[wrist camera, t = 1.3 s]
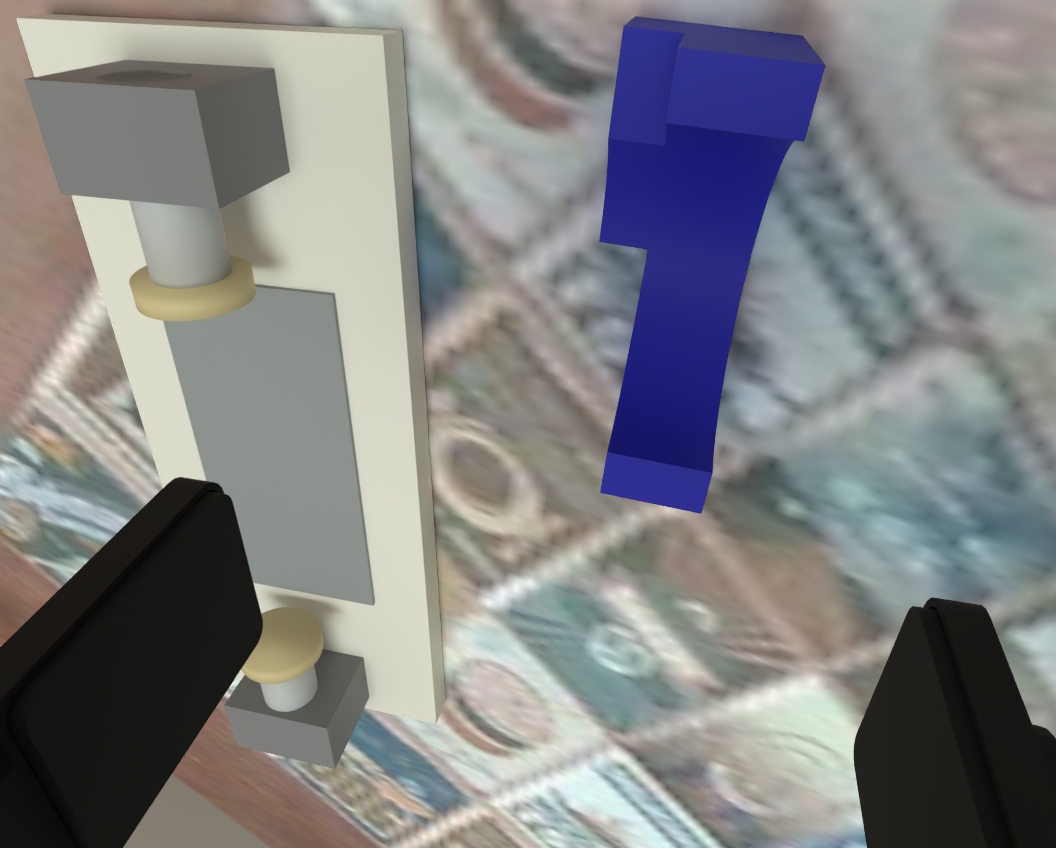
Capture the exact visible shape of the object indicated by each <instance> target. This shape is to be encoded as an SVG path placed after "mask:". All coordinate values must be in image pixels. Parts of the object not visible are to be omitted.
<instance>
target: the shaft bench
mask: <svg viewBox="0 0 1056 848" xmlns="http://www.w3.org/2000/svg"><path fill="white" fill-rule="evenodd" d="M16 19H17V22H18V25H19V28H20V32H21V35H22V38H23V41H24V44H25V48H26V51H27V54H28V57H29V60H30V64H31V67H32V70H33V73H34V76H35V77H34V78H29V79H24V80H25V83H26V86H27V89H28V92H29V96H30V99H31V102H32V105H33V108H34V111H35V114H36V118H37V121H38V124H39V127H40V130H41V133H42V136H43V139H44V143H45V146H46V149H47V152H48V155H49V158H50V161H51V165H52V168H53V171H54V174H55V177H56V180H57V183H58V186H59V190H60V193H61V194H65V195H72V198H73V201H74V205H75V208H76V211H77V214H78V217H79V221H80V224H81V227H82V230H83V234H84V237H85V240H86V243H87V246H88V250H89V253H90V256H91V259H92V262H93V266H94V269H95V272H96V275H97V278H98V282H99V285H100V288H101V291H102V294H103V298H104V301H105V304H106V307H107V310H108V314H109V317H110V320H111V323H112V326H113V330H114V333H115V336H116V339H117V343H118V346H119V349H120V352H121V355H122V359H123V362H124V365H125V368H126V371H127V375H128V378H129V381H130V384H131V387H132V391H133V394H134V397H135V400H136V403H137V407H138V410H139V413H140V416H141V419H142V423H143V426H144V429H145V432H146V435H147V439H148V442H149V445H150V448H151V452H152V455H153V458H154V461H155V464H156V468H157V471H158V474H159V477H160V480H161V484H162V487H163V488H164V487H165V486H166V485H167V484H168V483H169V482H170V481H172V480H173V479H174V478H178V477H184V478H190V479H197V480H203V481H209V482H214V483H218V484H219V485H220V486H221V487H222V489H223V491H224V494H226V495H229V496H230V497H231V499H232V502H233V505H234V509H235V513H236V517H237V521H238V525H239V528H240V532H241V536H242V540H243V544H244V548H245V552H246V556H247V560H248V564H249V568H250V571H251V575H252V579H253V583H254V587H255V591H256V595H257V599H258V603H259V607H260V611H261V615H262V618H263V630H262V634H261V637H260V640H259V642H258V644H257V646H256V647H255V649H254V650H253V652H252V653H251V655H250V657H249V658H248V660H247V661H246V663H245V664H244V666H243V667H242V669H241V670H240V672H239V673H238V675H237V676H236V678H235V679H234V680H238V681H240V683H239V684H238V686H237V687H236V689H235V690H234V692H233V693H232V695H231V696H230V698H229V699H228V701H227V702H226V704H225V705H224V706H225V709H226V712H227V716H228V719H229V722H230V725H231V728H232V731H233V734H234V738H235V741H236V744H237V746H241V747H245V748H250V749H254V750H258V751H262V752H267V753H271V754H275V755H279V756H284V757H288V758H292V759H296V760H301V761H305V762H309V763H313V764H318V765H322V766H326V767H330V768H336V766H337V764H338V761H339V759H340V757H341V755H342V753H343V751H344V749H345V747H346V745H347V743H348V741H349V739H350V736H351V734H352V732H353V730H354V728H355V726H356V724H357V722H358V720H359V718H360V716H361V714H362V711H363V709H364V708H367V709H371V710H376V711H380V712H385V713H390V714H394V715H399V716H403V717H408V718H412V719H417V720H422V721H426V722H431V723H435V724H436V723H437V720H438V718H439V715H440V712H441V710H442V707H443V705H444V702H445V699H446V698H445V682H444V667H443V652H442V636H441V621H440V605H439V590H438V574H437V559H436V543H435V528H434V512H433V497H432V482H431V466H430V451H429V435H428V420H427V404H426V389H425V373H424V358H423V342H422V327H421V312H420V296H419V281H418V265H417V250H416V234H415V219H414V203H413V188H412V172H411V157H410V142H409V126H408V111H407V95H406V80H405V64H404V49H403V33H402V30H383V29H361V28H340V27H318V26H297V25H275V24H254V23H232V22H211V21H189V20H168V19H146V18H125V17H103V16H82V15H60V14H49V15H40V16H31V17H21V18H16Z"/></svg>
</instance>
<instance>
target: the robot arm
mask: <svg viewBox="0 0 1056 848" xmlns="http://www.w3.org/2000/svg"><path fill="white" fill-rule="evenodd" d="M262 630H263V618H262V615H261V611H260V607H259V603H258V599H257V595H256V591H255V587H254V583H253V579H252V575H251V571H250V568H249V564H248V560H247V556H246V552H245V548H244V544H243V540H242V536H241V532H240V528H239V525H238V521H237V517H236V513H235V509H234V505H233V502H232V499H231V497H230V496H229V495H226V494H224V491H223V489H222V487H221V486H220V485H219V484H218V483H214V482H209V481H203V480H197V479H190V478H184V477H178V478H174V479H173V480H172V481H170V482H169V483H168V484H167V485H166V486H165V487H164V488H163V489H162V490H161V491H160V492H159V493H158V494H157V495H156V496H155V497H154V498H153V499H152V500H150V501H149V502H148V503H147V504H146V505H145V506H144V507H143V508H142V509H141V510H140V511H139V512H138V513H137V514H136V515H135V516H134V517H133V518H132V519H131V520H130V521H129V522H128V523H127V524H126V525H125V526H124V527H123V528H122V529H121V530H120V531H119V532H118V533H117V534H116V535H115V536H114V537H113V538H112V539H111V540H110V541H109V542H108V543H107V544H106V545H104V546H103V547H102V548H101V549H100V550H99V551H98V552H97V553H96V554H95V555H94V556H93V557H92V558H91V559H90V560H89V561H88V562H87V563H86V564H85V565H84V566H83V567H82V568H81V569H80V570H79V571H78V572H77V573H76V574H75V575H74V576H73V577H72V578H71V579H70V580H69V581H68V582H67V583H66V584H65V585H64V586H63V587H62V588H61V589H60V590H58V591H57V592H56V593H55V594H54V595H53V596H52V597H51V598H50V599H49V600H48V601H47V602H46V603H45V604H44V605H43V606H42V607H41V608H40V609H39V610H38V611H37V612H36V613H35V614H34V615H33V616H32V617H31V618H30V619H29V620H28V621H27V622H26V623H25V624H24V625H23V626H22V627H21V628H20V629H19V630H18V631H17V632H16V633H15V634H14V635H12V636H11V637H10V638H9V639H8V640H7V641H6V642H5V643H4V644H3V645H2V646H1V647H0V848H123V847H124V845H125V844H126V842H127V840H128V839H129V838H130V836H131V835H132V833H133V832H134V830H135V829H136V827H137V826H138V824H139V823H140V821H141V819H142V818H143V816H144V815H145V813H146V812H147V810H148V809H149V807H150V806H151V804H152V803H153V801H154V800H155V798H156V797H157V795H158V794H159V792H160V791H161V789H162V788H163V786H164V785H165V783H166V782H167V780H168V779H169V777H170V776H171V774H172V773H173V771H174V770H175V768H176V767H177V765H178V764H179V762H180V761H181V759H182V758H183V756H184V755H185V753H186V752H187V750H188V749H189V747H190V746H191V744H192V743H193V741H194V740H195V738H196V736H197V735H198V733H199V732H200V730H201V729H202V727H203V726H204V724H205V723H206V721H207V720H208V718H209V717H210V715H211V714H212V712H213V711H214V709H215V708H216V706H217V705H218V703H219V702H220V700H221V699H222V697H223V696H224V694H225V693H226V691H227V690H228V688H229V687H230V685H231V684H232V682H233V681H234V679H235V678H236V676H237V675H238V673H239V672H240V670H241V669H242V667H243V666H244V664H245V663H246V661H247V660H248V658H249V657H250V655H251V653H252V652H253V650H254V649H255V647H256V646H257V644H258V642H259V640H260V637H261V634H262ZM854 766H855V773H856V779H857V786H858V792H859V798H860V805H861V811H862V818H863V824H864V831H865V837H866V843H867V848H1056V739H1055V737H1054V736H1053V735H1052V734H1051V733H1050V732H1049V731H1048V730H1047V729H1046V728H1043V727H1040V726H1037V725H1032V723H1031V721H1030V718H1029V716H1028V713H1027V710H1026V708H1025V705H1024V703H1023V700H1022V698H1021V695H1020V692H1019V690H1018V687H1017V685H1016V682H1015V680H1014V677H1013V675H1012V672H1011V669H1010V667H1009V664H1008V662H1007V659H1006V657H1005V654H1004V651H1003V649H1002V646H1001V644H1000V641H999V639H998V636H997V633H996V631H995V628H994V626H993V623H992V621H991V618H990V616H989V614H988V612H987V610H986V609H985V608H984V607H983V606H982V605H976V604H970V603H964V602H958V601H951V600H945V599H939V598H930V599H929V600H928V601H927V602H926V604H925V605H924V607H923V608H921V607H914V606H912V607H911V608H910V609H909V611H908V613H907V615H906V617H905V620H904V622H903V625H902V627H901V629H900V632H899V634H898V637H897V639H896V641H895V644H894V646H893V648H892V651H891V653H890V656H889V658H888V660H887V663H886V665H885V667H884V670H883V672H882V675H881V677H880V679H879V682H878V684H877V687H876V689H875V691H874V694H873V696H872V698H871V701H870V703H869V706H868V708H867V710H866V713H865V715H864V718H863V720H862V722H861V725H860V727H859V729H858V732H857V735H856V738H855V743H854Z"/></svg>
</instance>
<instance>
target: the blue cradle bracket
mask: <svg viewBox="0 0 1056 848" xmlns="http://www.w3.org/2000/svg"><path fill="white" fill-rule="evenodd" d="M824 68H825V64H824V63H823V62H822V60H821V59H820V58H819V56H818V55H817V54H816V53H815V51H814V50H813V49H812V47H811V46H810V45H809V44H808V42H807V41H806V40H805V38H804V37H803V36H799V35H790V34H782V33H773V32H764V31H756V30H747V29H738V28H730V27H721V26H713V25H704V24H695V23H687V22H678V21H669V20H661V19H652V18H643V17H635V18H633V19H632V20H631V21H629V22H628V23H627V24H626V25H624V28H623V36H622V43H621V50H620V58H619V65H618V72H617V80H616V87H615V94H614V102H613V109H612V116H611V124H610V131H609V138H608V140H609V141H608V167H607V180H606V191H605V201H604V210H603V218H602V226H601V234H600V241H599V242H604V243H611V244H617V245H623V246H630V247H636V248H642V249H648V253H647V259H646V264H645V270H644V275H643V280H642V286H641V291H640V297H639V302H638V307H637V312H636V318H635V323H634V328H633V333H632V338H631V343H630V348H629V353H628V358H627V363H626V368H625V373H624V378H623V383H622V388H621V393H620V397H619V402H618V407H617V411H616V416H615V421H614V425H613V430H612V434H611V439H610V443H609V447H608V452H607V457H606V463H605V468H604V474H603V480H602V486H601V491H600V493H604V494H609V495H613V496H618V497H623V498H628V499H633V500H638V501H643V502H647V503H652V504H657V505H662V506H667V507H672V508H677V509H681V510H686V511H691V512H696V513H702V509H703V505H704V502H705V498H706V495H707V491H708V487H709V484H710V480H711V477H712V473H713V456H714V445H715V435H716V427H717V419H718V412H719V405H720V399H721V393H722V386H723V381H724V375H725V369H726V364H727V359H728V353H729V348H730V343H731V338H732V334H733V329H734V324H735V319H736V315H737V311H738V306H739V302H740V297H741V293H742V289H743V285H744V281H745V277H746V273H747V269H748V265H749V261H750V257H751V254H752V250H753V246H754V243H755V239H756V236H757V232H758V229H759V226H760V222H761V219H762V216H763V212H764V209H765V206H766V203H767V200H768V197H769V194H770V191H771V189H772V186H773V183H774V180H775V178H776V175H777V173H778V170H779V168H780V165H781V163H782V161H783V159H784V156H785V154H786V153H787V151H788V149H789V147H790V146H791V144H792V143H793V141H794V140H797V141H804V140H805V137H806V133H807V130H808V126H809V122H810V119H811V115H812V112H813V108H814V104H815V101H816V97H817V93H818V90H819V86H820V83H821V79H822V75H823V72H824Z"/></svg>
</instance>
